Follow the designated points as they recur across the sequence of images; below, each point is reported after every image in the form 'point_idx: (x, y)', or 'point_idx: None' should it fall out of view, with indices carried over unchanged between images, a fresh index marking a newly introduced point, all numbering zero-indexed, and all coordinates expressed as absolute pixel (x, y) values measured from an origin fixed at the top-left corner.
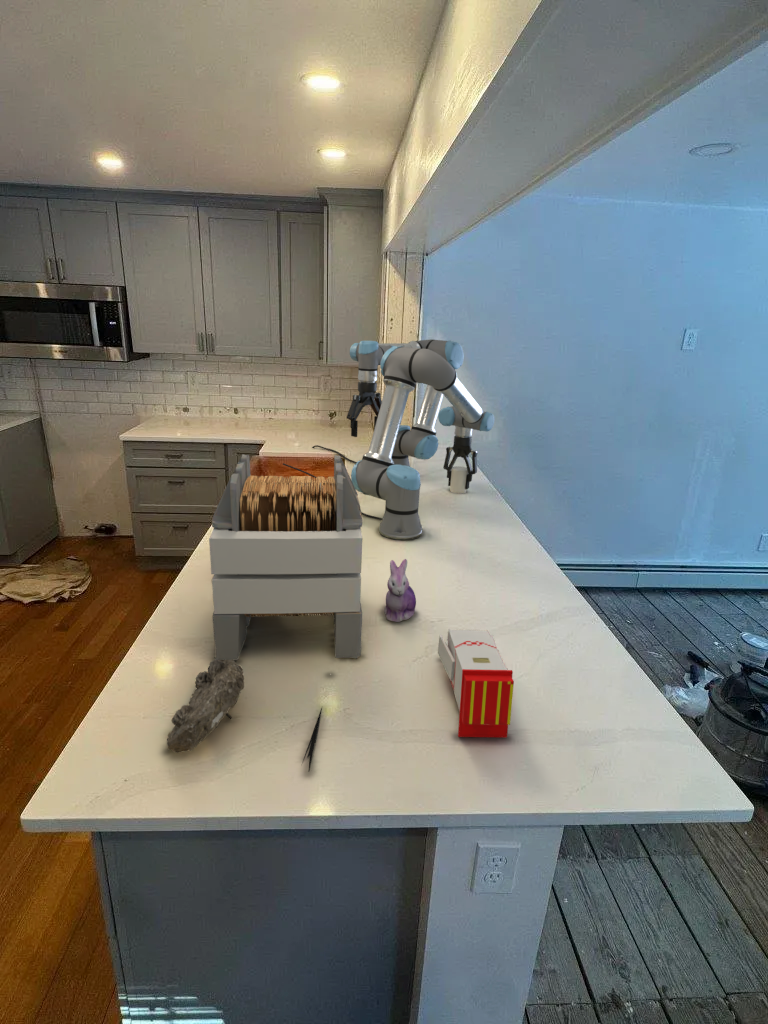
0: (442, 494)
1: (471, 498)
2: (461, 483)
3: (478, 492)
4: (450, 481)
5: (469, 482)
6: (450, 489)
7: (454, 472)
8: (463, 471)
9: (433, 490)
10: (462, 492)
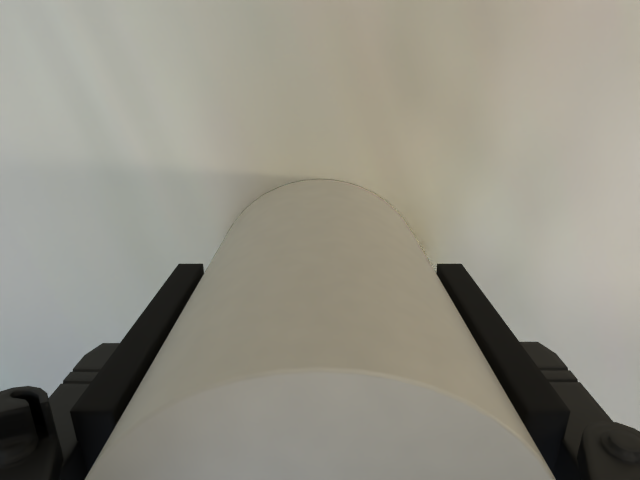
0: (453, 11)
1: (47, 84)
2: (228, 248)
3: None
4: None
5: None
6: (403, 220)
7: (404, 329)
8: (130, 417)
9: (615, 117)
10: (235, 221)
